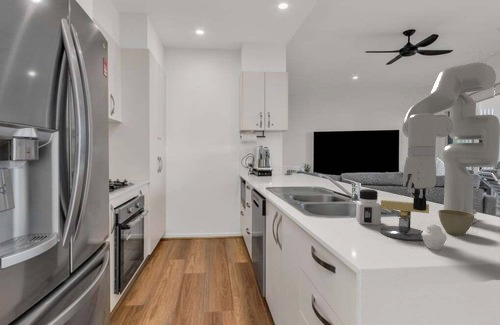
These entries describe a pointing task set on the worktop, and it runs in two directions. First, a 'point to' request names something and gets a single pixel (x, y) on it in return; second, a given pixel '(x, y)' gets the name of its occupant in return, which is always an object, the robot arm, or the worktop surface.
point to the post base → (402, 235)
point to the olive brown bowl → (456, 221)
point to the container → (368, 208)
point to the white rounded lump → (434, 237)
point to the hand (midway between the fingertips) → (419, 209)
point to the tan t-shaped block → (401, 207)
